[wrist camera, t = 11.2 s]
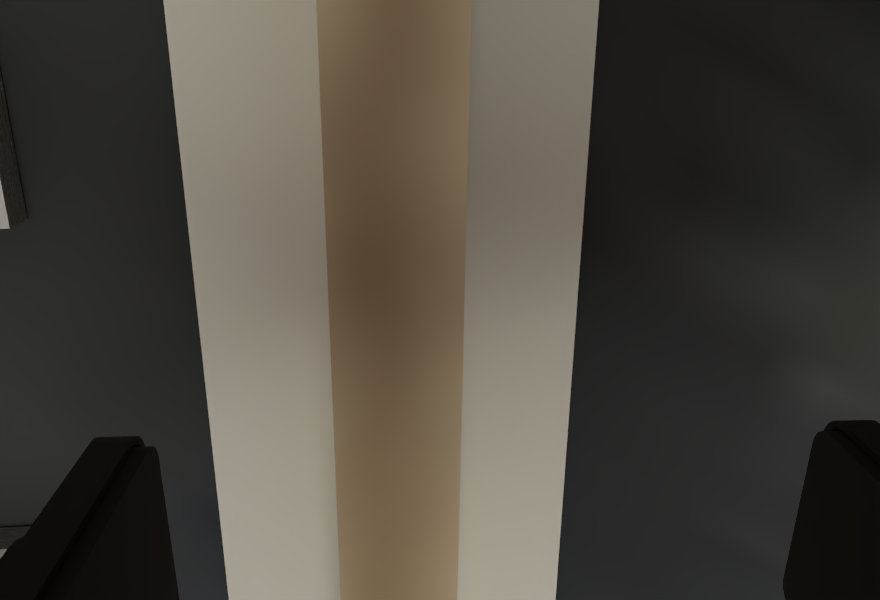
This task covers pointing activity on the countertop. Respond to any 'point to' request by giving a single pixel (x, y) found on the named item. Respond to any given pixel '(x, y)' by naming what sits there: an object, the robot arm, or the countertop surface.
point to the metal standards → (4, 210)
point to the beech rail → (396, 285)
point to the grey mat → (306, 285)
